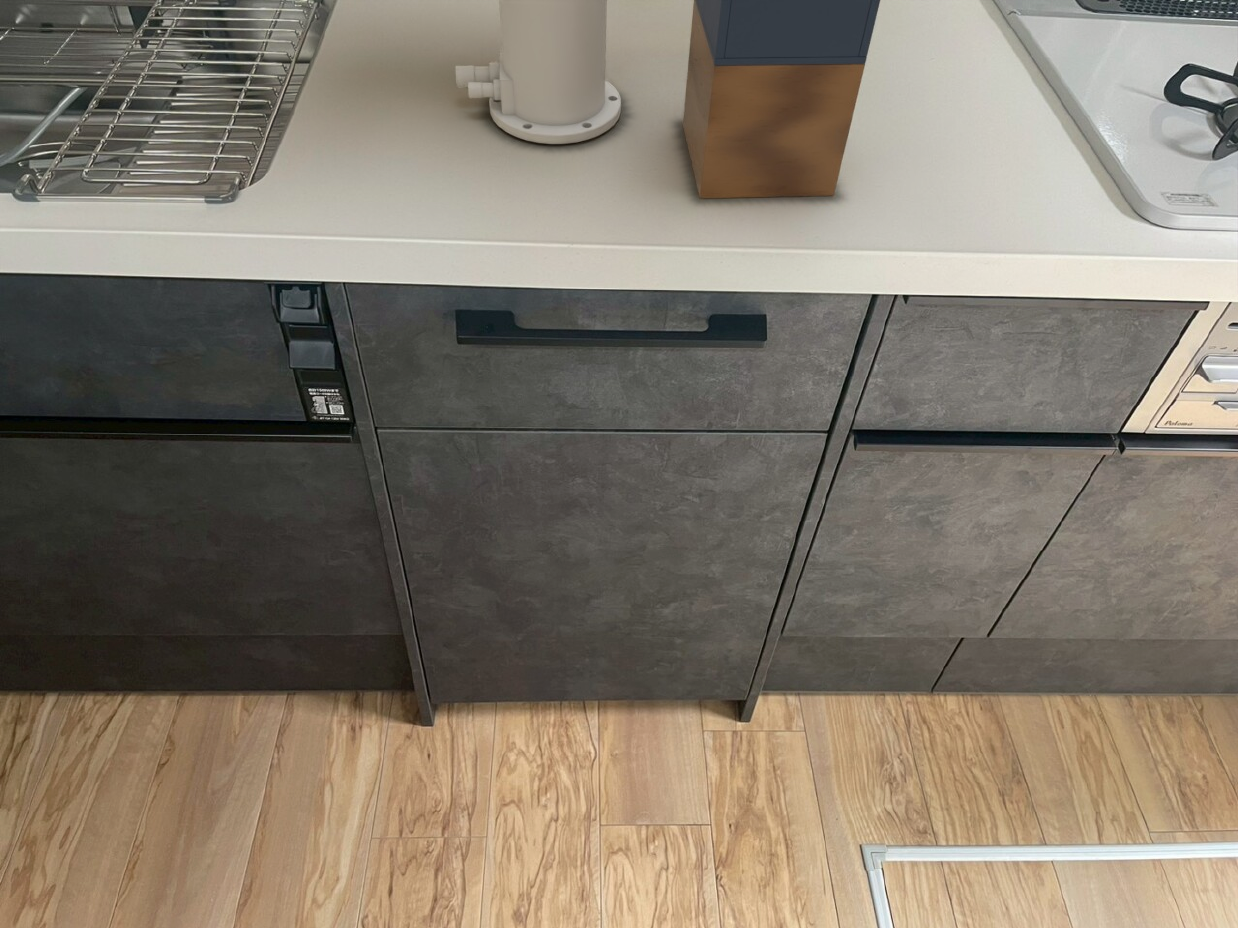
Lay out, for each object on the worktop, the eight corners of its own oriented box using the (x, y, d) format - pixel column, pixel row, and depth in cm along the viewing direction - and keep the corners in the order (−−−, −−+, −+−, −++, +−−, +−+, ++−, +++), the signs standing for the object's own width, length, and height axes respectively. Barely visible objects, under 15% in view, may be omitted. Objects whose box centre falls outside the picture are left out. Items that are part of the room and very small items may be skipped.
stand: (699, 198, 82) (714, 66, 73) (682, 125, 90) (694, -3, 80) (834, 195, 83) (865, 64, 74) (805, 123, 91) (831, -4, 81)
